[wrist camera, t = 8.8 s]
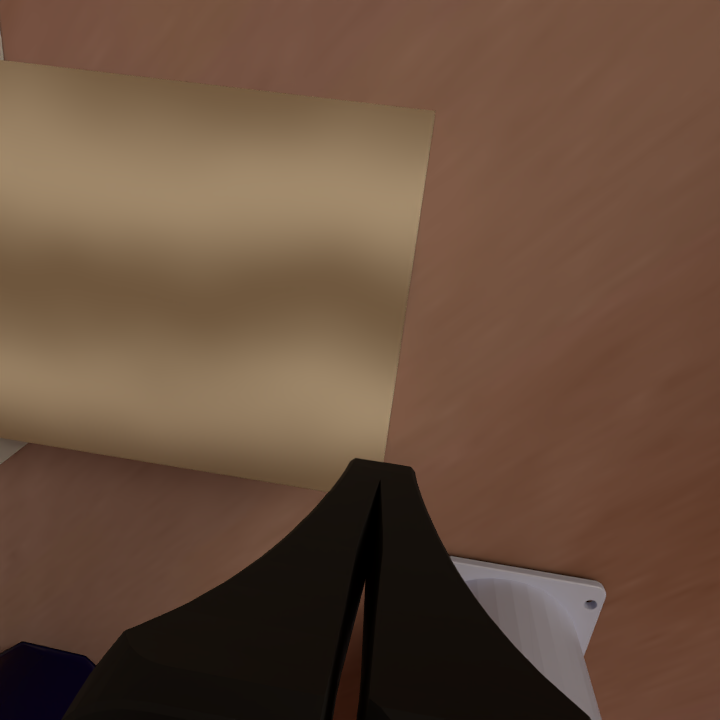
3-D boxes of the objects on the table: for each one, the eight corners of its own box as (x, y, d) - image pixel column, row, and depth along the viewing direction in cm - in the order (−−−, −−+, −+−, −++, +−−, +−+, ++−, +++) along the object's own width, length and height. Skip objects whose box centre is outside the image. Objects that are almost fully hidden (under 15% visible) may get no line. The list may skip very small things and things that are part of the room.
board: (386, 439, 22) (377, 500, 19) (54, 387, 23) (-16, 434, 20) (434, 115, 18) (435, 111, 14) (18, 66, 19) (-83, 50, 15)
